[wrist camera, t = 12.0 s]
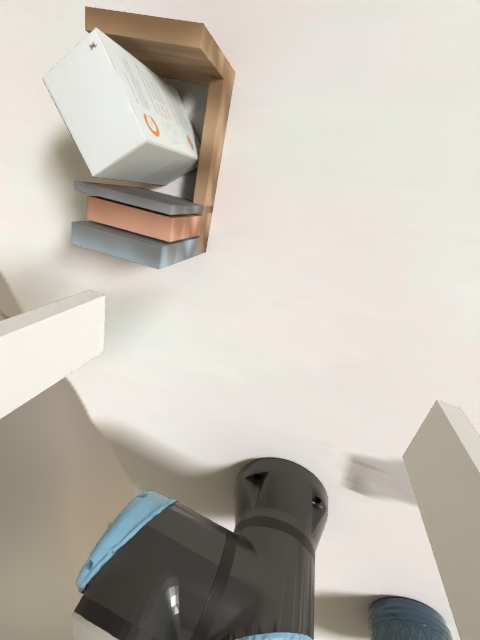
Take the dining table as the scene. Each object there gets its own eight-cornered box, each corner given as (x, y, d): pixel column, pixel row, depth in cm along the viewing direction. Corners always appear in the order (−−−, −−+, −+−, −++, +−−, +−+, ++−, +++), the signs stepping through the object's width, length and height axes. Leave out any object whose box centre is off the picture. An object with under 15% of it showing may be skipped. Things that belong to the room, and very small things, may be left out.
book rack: (205, 251, 38) (159, 269, 27) (134, 232, 40) (63, 241, 29) (235, 72, 31) (186, -2, 20) (145, 56, 32) (55, -19, 22)
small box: (134, 120, 35) (38, 75, 23) (177, 88, 33) (95, 22, 21) (165, 187, 37) (91, 178, 25) (208, 162, 34) (148, 139, 23)
